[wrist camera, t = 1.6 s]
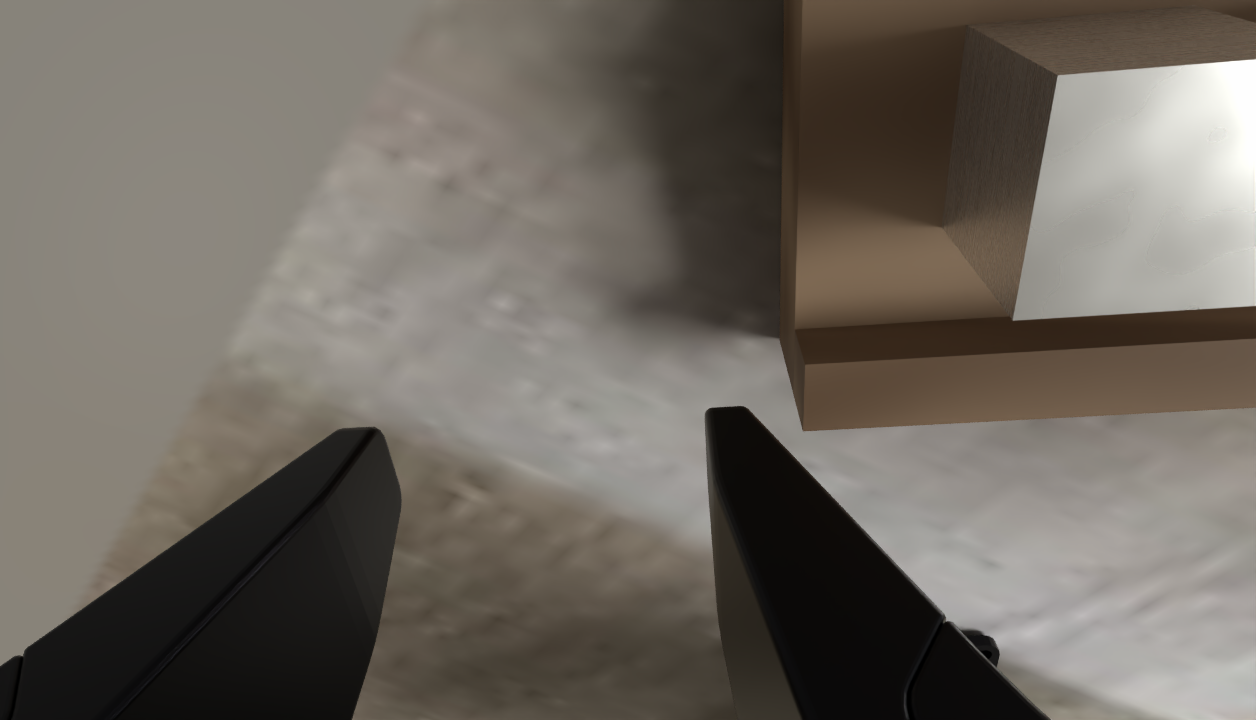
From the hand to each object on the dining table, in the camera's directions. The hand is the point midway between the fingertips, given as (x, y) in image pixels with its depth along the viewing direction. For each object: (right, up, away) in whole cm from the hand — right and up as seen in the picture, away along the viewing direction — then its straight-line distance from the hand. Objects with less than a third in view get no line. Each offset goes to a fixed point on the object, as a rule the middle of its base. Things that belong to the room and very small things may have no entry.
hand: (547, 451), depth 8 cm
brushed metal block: (+9, +6, +7) cm, 13 cm away
